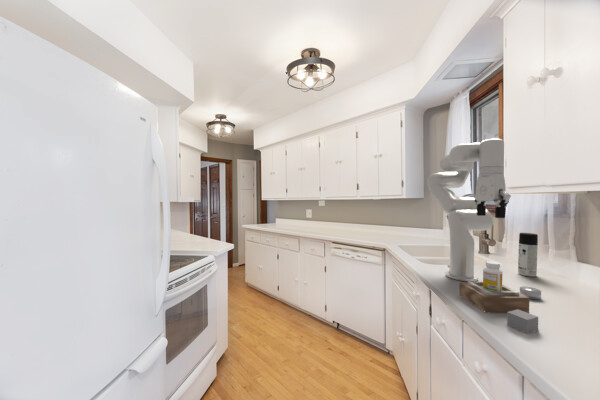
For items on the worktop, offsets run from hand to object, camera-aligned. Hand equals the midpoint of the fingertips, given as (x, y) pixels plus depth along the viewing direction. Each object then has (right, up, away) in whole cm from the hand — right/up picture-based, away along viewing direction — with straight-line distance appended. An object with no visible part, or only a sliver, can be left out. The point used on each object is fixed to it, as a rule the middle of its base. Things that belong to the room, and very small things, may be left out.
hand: (490, 216), depth 96 cm
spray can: (+36, -30, +24) cm, 53 cm away
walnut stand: (-5, -30, -7) cm, 32 cm away
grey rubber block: (-8, -31, -23) cm, 40 cm away
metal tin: (+14, -31, -1) cm, 34 cm away
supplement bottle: (-5, -26, -8) cm, 27 cm away
